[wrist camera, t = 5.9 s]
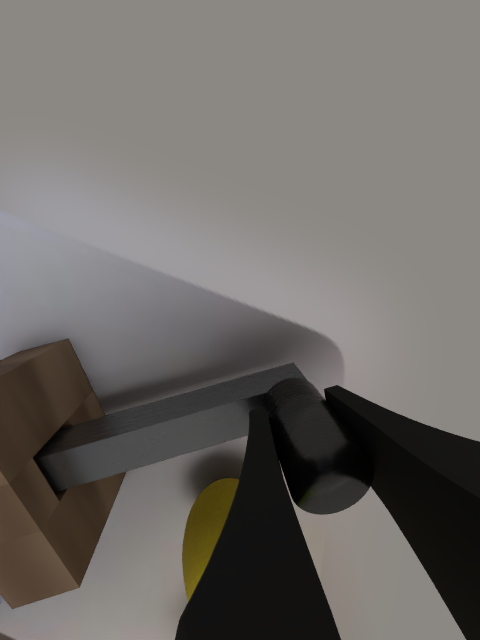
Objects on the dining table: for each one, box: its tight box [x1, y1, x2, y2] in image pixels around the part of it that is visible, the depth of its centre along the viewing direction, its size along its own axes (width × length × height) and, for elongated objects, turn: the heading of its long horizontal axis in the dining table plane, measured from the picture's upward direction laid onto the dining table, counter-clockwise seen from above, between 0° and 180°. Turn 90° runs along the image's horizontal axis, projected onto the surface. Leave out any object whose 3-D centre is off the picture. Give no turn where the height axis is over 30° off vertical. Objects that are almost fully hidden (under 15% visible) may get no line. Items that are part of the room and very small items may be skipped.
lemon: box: [182, 478, 239, 602], centre depth 14 cm, size 6×6×8 cm
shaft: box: [33, 363, 375, 514], centre depth 10 cm, size 15×3×6 cm, turn 104°
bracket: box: [0, 339, 127, 609], centre depth 12 cm, size 3×10×6 cm, turn 14°
